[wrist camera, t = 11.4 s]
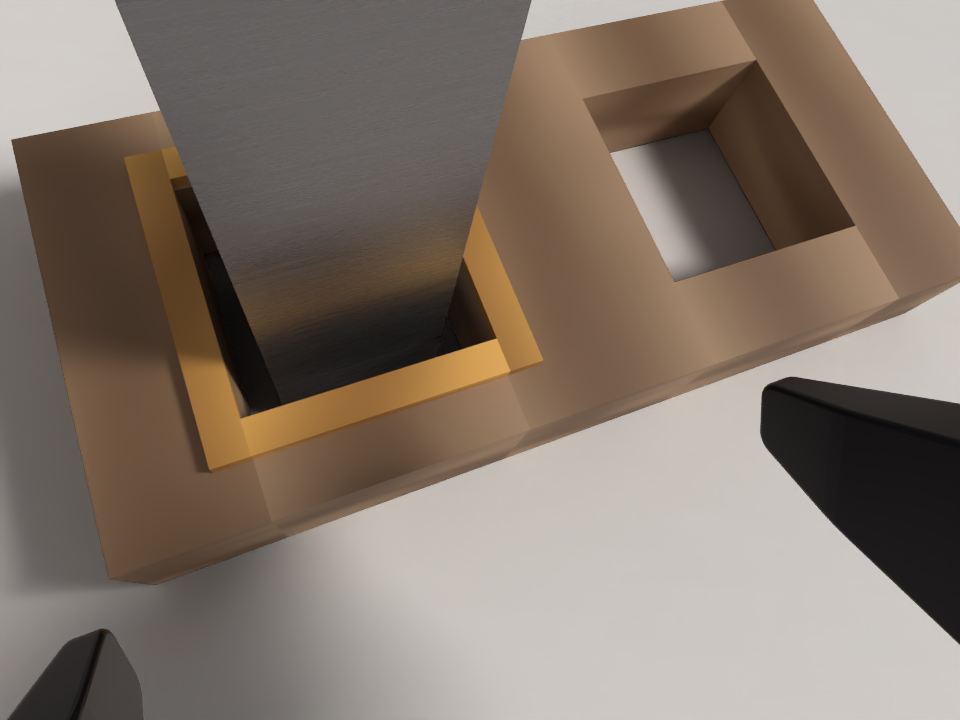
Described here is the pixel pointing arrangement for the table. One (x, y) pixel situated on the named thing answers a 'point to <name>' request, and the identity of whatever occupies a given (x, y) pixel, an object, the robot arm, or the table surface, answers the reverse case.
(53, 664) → the robot arm
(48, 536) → the table surface
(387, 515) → the table surface
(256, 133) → the peg
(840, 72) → the wooden peg holder
